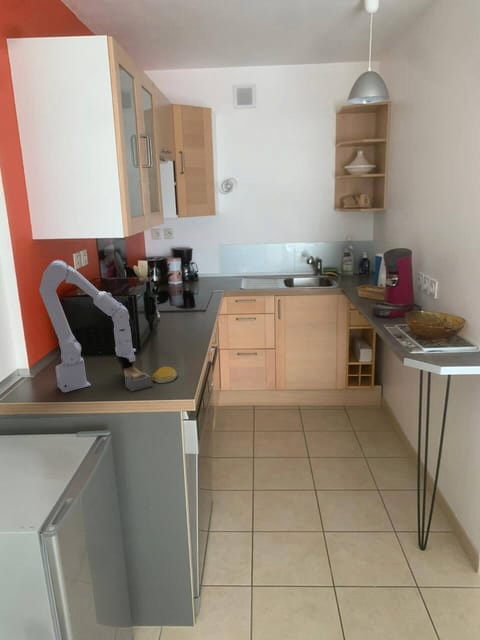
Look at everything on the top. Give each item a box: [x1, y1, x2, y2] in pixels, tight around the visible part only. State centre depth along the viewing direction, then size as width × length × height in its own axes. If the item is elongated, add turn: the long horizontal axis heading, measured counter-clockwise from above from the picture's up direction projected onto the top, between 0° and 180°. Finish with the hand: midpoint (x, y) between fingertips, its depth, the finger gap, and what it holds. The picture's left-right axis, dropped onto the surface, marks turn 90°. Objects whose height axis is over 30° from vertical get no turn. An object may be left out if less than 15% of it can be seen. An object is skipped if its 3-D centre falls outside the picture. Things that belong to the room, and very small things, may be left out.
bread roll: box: [151, 366, 178, 384], centre depth 168 cm, size 8×9×4 cm
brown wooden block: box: [123, 366, 144, 380], centre depth 165 cm, size 4×10×4 cm, turn 34°
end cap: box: [124, 371, 153, 392], centre depth 162 cm, size 7×6×4 cm
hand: (127, 375), depth 171 cm, fingers closed
